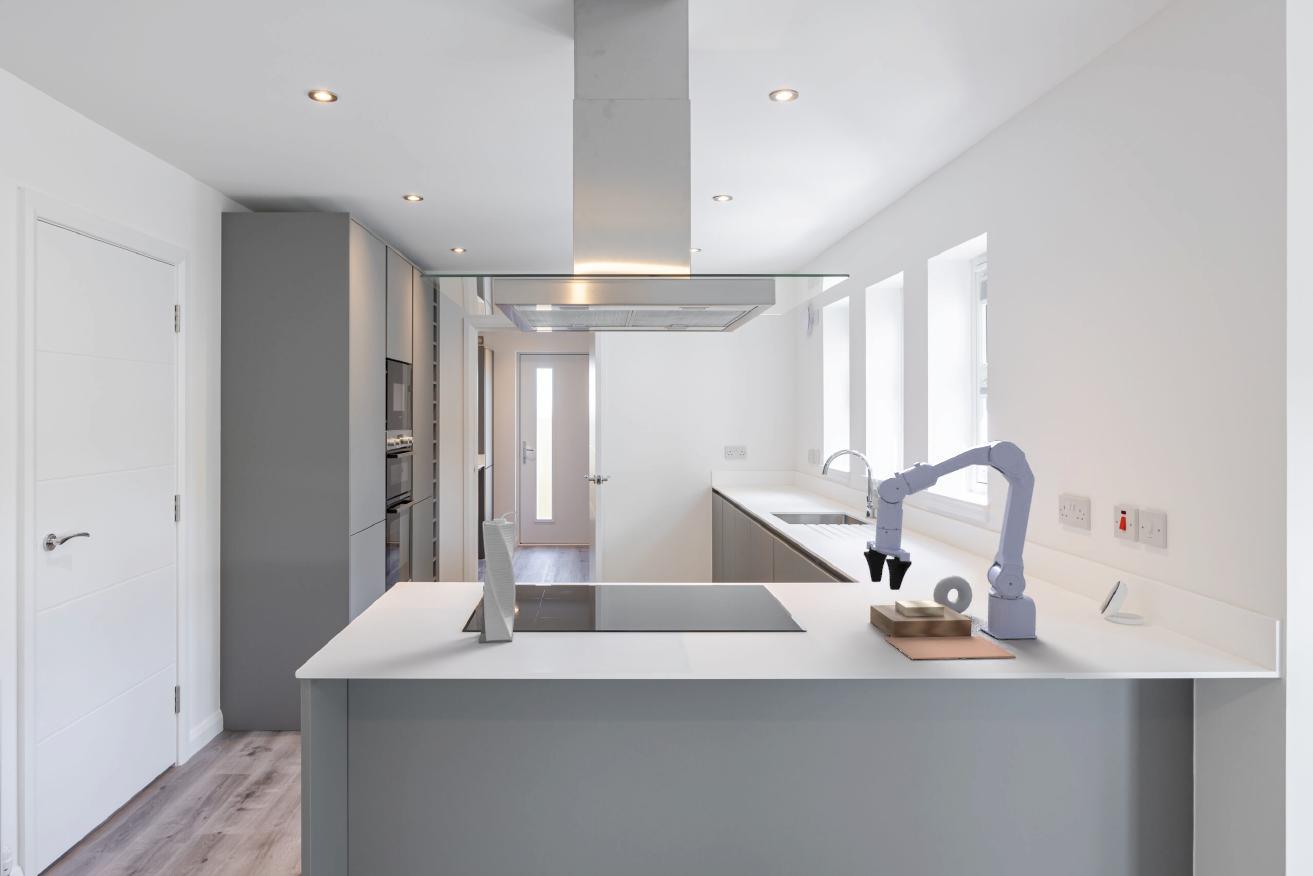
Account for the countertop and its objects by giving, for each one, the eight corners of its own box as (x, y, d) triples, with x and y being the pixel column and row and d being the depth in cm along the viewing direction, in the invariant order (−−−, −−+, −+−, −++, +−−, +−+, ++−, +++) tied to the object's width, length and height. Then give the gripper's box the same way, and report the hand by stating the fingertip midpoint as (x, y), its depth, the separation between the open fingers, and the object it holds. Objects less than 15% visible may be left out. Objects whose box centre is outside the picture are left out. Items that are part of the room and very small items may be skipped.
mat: (980, 637, 168) (980, 636, 168) (1015, 657, 154) (1015, 656, 154) (885, 639, 166) (885, 637, 166) (911, 660, 152) (911, 658, 152)
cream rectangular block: (932, 608, 178) (932, 600, 178) (943, 615, 172) (944, 606, 172) (895, 609, 177) (895, 600, 177) (905, 616, 171) (905, 607, 171)
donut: (937, 617, 185) (938, 577, 185) (930, 614, 189) (930, 574, 188) (974, 616, 187) (975, 576, 186) (967, 612, 190) (967, 573, 190)
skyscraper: (519, 632, 170) (519, 509, 170) (518, 642, 162) (518, 513, 162) (480, 633, 169) (480, 509, 168) (478, 644, 161) (478, 514, 160)
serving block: (942, 620, 182) (942, 604, 182) (971, 637, 168) (971, 619, 168) (870, 621, 181) (870, 605, 181) (893, 639, 167) (893, 621, 167)
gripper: (857, 523, 182) (853, 578, 182) (892, 533, 168) (888, 593, 169) (882, 523, 184) (878, 578, 184) (919, 533, 170) (915, 593, 171)
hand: (885, 585), depth 177 cm, fingers open, 7 cm apart
